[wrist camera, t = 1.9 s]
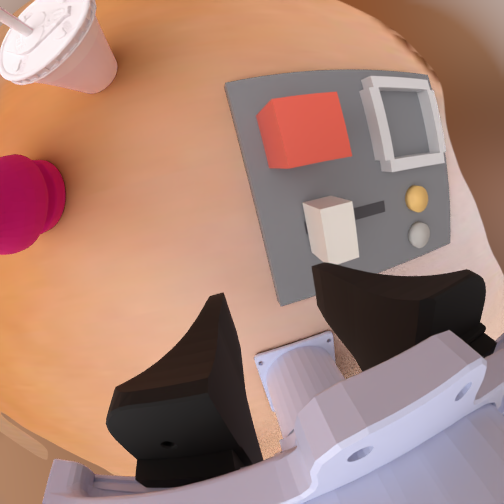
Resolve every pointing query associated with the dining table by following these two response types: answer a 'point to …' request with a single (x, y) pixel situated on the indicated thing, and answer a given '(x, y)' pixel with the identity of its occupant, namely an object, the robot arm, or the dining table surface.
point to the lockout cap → (303, 130)
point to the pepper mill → (28, 201)
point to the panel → (350, 172)
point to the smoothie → (57, 46)
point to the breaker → (331, 229)
